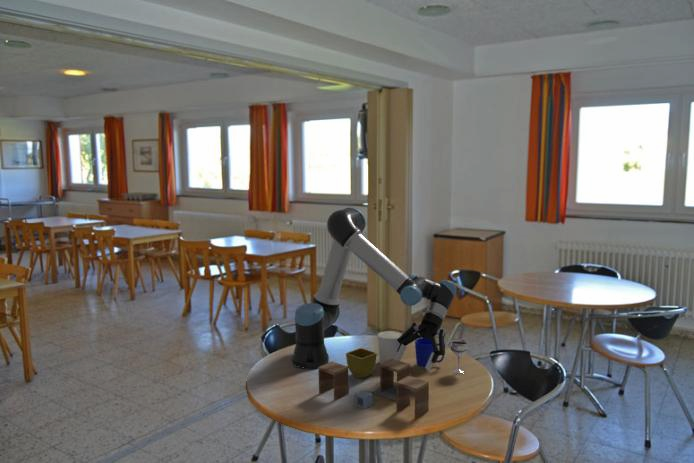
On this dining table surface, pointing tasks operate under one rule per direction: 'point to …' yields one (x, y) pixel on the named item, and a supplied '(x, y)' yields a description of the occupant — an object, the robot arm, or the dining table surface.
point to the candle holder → (388, 345)
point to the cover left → (334, 379)
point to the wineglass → (459, 350)
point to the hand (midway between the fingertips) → (411, 365)
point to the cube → (363, 399)
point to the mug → (424, 351)
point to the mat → (389, 392)
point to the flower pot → (361, 362)
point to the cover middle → (392, 372)
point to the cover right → (420, 394)
